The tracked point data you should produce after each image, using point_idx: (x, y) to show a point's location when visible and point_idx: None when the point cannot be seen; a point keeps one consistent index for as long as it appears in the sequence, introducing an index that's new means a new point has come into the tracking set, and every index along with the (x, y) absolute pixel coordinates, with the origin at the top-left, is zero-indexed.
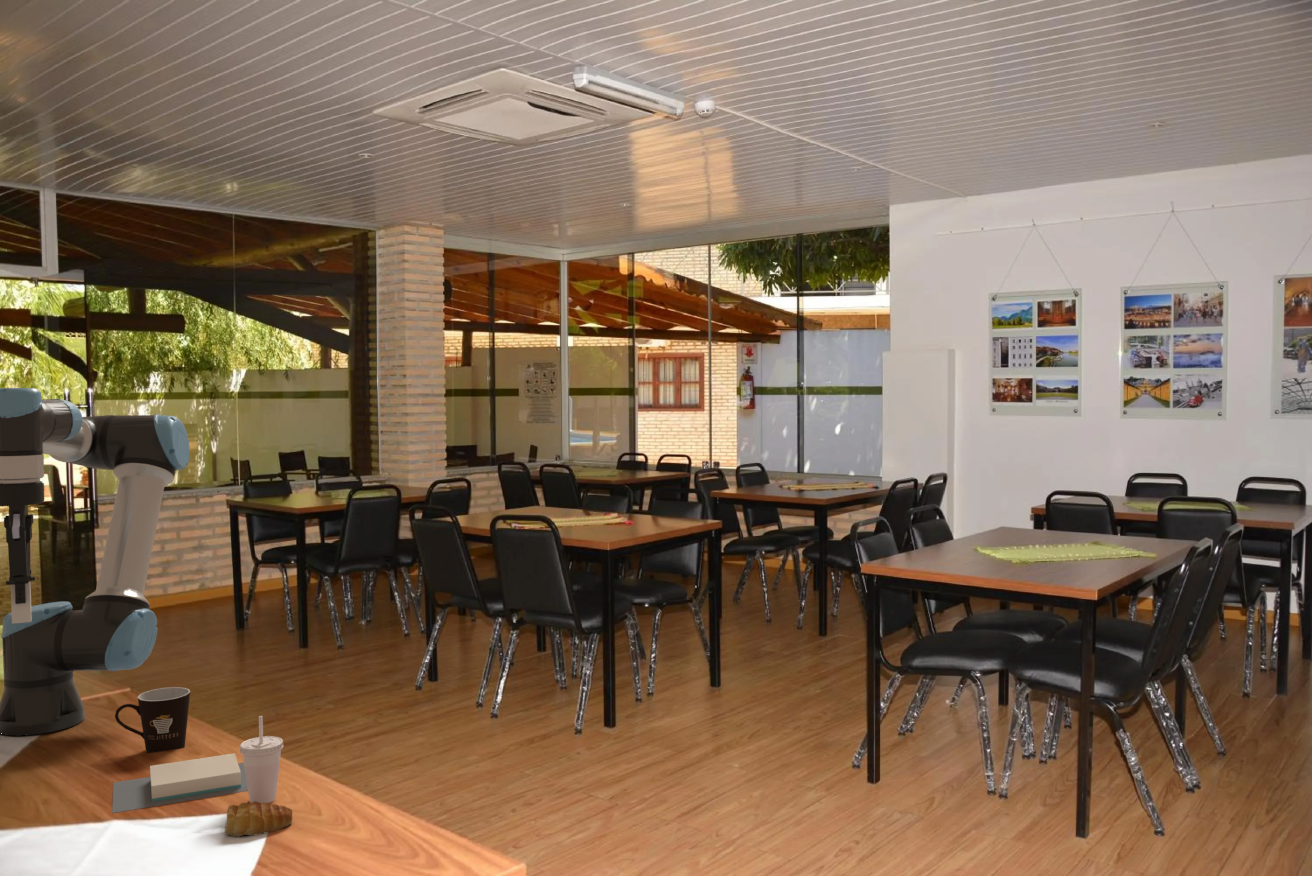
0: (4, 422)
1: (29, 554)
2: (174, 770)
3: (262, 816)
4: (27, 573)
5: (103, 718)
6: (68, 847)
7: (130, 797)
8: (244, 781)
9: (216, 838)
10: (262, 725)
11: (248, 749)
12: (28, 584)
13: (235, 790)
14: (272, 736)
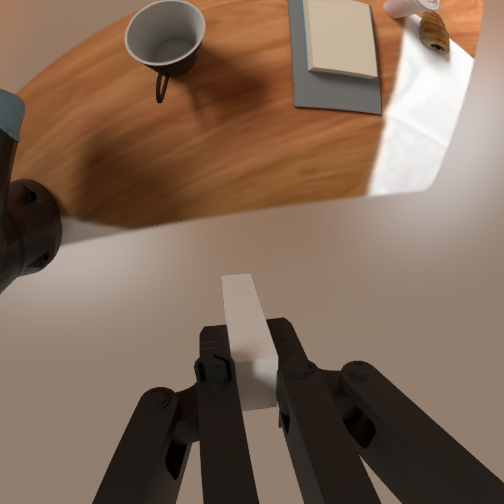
0: None
1: (148, 487)
2: (340, 48)
3: (446, 31)
4: (359, 388)
5: (23, 157)
6: (420, 152)
7: (349, 94)
8: None
9: (440, 60)
10: None
11: (438, 8)
12: (277, 357)
13: None
14: None
